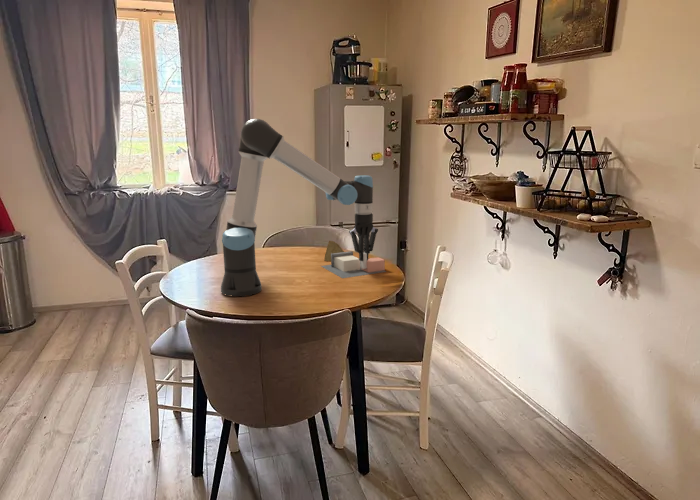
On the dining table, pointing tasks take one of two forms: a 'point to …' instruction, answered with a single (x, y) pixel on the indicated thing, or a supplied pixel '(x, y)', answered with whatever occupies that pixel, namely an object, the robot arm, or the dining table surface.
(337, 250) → the rock
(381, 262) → the stub
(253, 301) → the dining table surface
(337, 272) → the mat
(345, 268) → the clamped cream block
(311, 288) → the dining table surface
